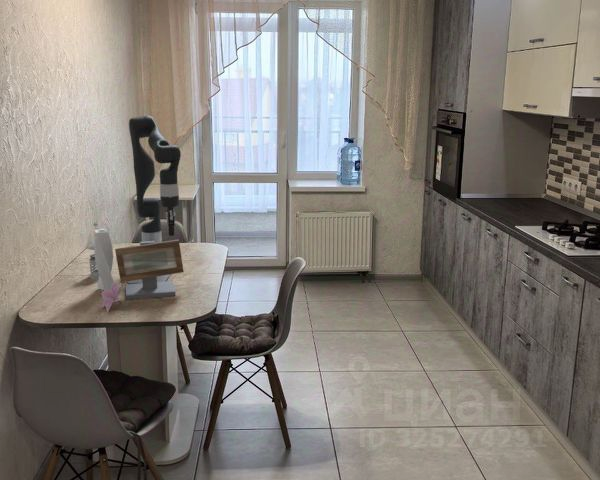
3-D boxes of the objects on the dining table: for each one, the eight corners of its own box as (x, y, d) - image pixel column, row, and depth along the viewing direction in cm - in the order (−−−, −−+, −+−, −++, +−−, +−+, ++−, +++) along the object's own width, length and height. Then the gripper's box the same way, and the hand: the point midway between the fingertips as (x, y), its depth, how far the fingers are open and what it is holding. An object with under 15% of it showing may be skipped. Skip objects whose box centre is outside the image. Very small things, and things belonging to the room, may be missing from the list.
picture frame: (120, 281, 267) (115, 249, 263) (183, 270, 273) (178, 239, 269) (120, 282, 265) (115, 250, 262) (183, 272, 271) (178, 240, 267)
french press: (86, 274, 298) (82, 222, 292) (112, 271, 303) (108, 219, 298) (90, 279, 290) (85, 225, 284) (116, 276, 295) (112, 223, 289)
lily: (103, 304, 260) (92, 288, 254) (130, 291, 261) (120, 275, 255) (106, 322, 250) (95, 305, 245) (134, 309, 252) (123, 292, 246)
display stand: (126, 288, 278) (122, 239, 273) (172, 284, 283) (170, 236, 278) (126, 299, 263) (122, 248, 258) (175, 295, 268) (172, 245, 263)
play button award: (173, 270, 301) (163, 282, 282) (173, 273, 301) (163, 286, 282) (139, 270, 301) (127, 282, 282) (139, 273, 302) (127, 286, 282)
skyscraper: (119, 288, 277) (115, 225, 271) (106, 292, 271) (101, 228, 265) (107, 285, 282) (102, 223, 275) (93, 289, 276) (88, 226, 269)
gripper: (159, 192, 268) (161, 232, 272) (161, 197, 256) (163, 239, 260) (177, 191, 270) (179, 231, 274) (180, 196, 258) (182, 238, 262)
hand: (171, 235), depth 267 cm, fingers closed
